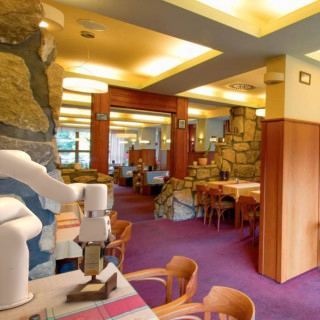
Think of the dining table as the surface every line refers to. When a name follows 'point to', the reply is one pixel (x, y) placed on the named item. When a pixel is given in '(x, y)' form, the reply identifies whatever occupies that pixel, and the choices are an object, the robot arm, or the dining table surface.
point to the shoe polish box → (93, 259)
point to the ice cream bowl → (93, 277)
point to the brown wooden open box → (93, 290)
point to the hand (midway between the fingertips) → (94, 256)
